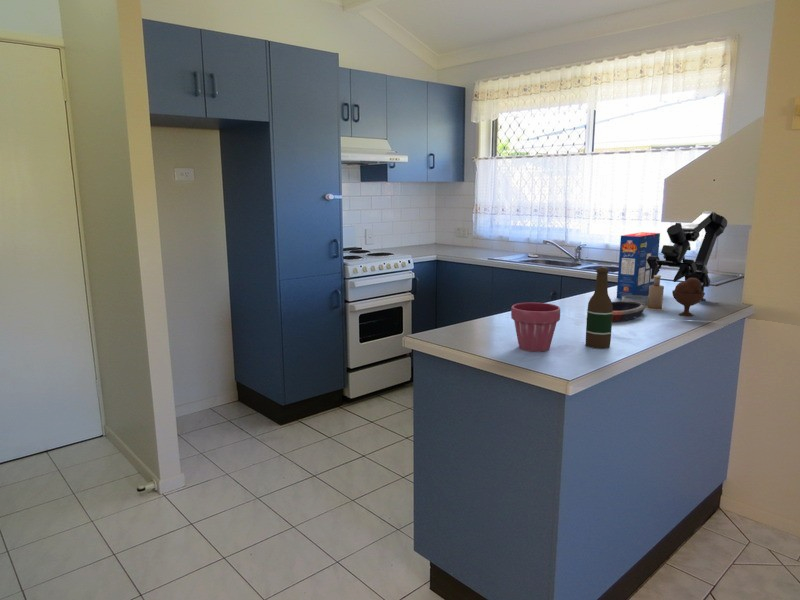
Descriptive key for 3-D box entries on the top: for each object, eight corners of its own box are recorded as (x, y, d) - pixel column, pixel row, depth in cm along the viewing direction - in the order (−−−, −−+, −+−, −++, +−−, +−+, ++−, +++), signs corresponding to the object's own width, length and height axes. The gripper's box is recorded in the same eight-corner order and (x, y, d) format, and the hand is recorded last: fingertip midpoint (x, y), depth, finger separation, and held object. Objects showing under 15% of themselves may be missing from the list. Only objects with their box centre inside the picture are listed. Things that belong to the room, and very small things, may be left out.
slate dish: (620, 300, 251) (620, 294, 251) (650, 302, 248) (650, 295, 248) (624, 306, 240) (624, 299, 239) (655, 307, 237) (655, 300, 236)
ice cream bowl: (694, 313, 225) (698, 275, 222) (706, 319, 214) (710, 279, 211) (666, 313, 226) (669, 275, 223) (677, 319, 215) (680, 279, 212)
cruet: (646, 306, 236) (649, 274, 234) (660, 306, 235) (663, 274, 233) (648, 308, 231) (651, 276, 229) (663, 309, 230) (666, 276, 228)
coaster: (643, 307, 237) (643, 305, 237) (662, 307, 236) (662, 306, 236) (646, 310, 231) (647, 309, 231) (665, 311, 229) (665, 310, 229)
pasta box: (637, 290, 277) (642, 232, 272) (655, 292, 272) (660, 233, 267) (616, 298, 256) (620, 235, 251) (634, 300, 251) (639, 236, 246)
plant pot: (505, 351, 172) (506, 308, 169) (515, 340, 184) (517, 300, 182) (554, 356, 166) (556, 312, 164) (561, 344, 179) (563, 304, 176)
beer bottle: (580, 342, 181) (584, 266, 177) (604, 342, 182) (609, 266, 177) (590, 349, 173) (595, 269, 169) (615, 348, 174) (621, 269, 170)
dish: (656, 315, 223) (657, 302, 222) (612, 326, 204) (613, 312, 203) (619, 309, 234) (620, 297, 234) (574, 319, 215) (575, 306, 215)
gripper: (650, 236, 242) (634, 264, 237) (696, 239, 227) (680, 269, 222) (658, 254, 248) (643, 282, 243) (703, 258, 234) (687, 287, 229)
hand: (662, 280), depth 234 cm, fingers open, 9 cm apart
